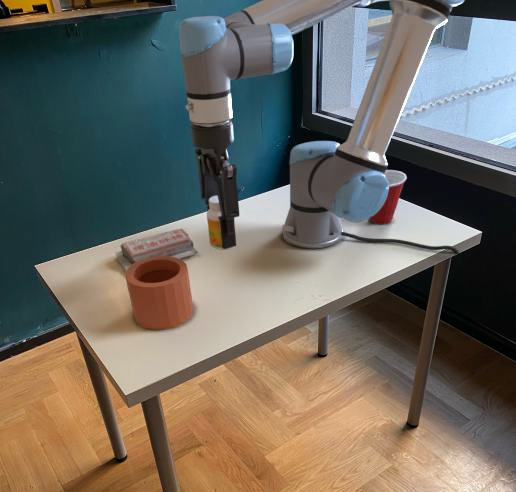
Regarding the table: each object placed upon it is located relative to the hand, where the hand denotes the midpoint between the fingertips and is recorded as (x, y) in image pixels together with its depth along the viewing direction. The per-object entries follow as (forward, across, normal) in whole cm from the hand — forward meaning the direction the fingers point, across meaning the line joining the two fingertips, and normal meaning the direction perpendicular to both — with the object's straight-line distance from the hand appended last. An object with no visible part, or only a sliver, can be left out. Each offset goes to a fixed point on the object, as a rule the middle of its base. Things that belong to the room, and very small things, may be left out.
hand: (223, 240), depth 105 cm
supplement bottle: (+1, 0, 0) cm, 1 cm away
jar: (+13, 0, -15) cm, 19 cm away
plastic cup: (+13, -12, +51) cm, 54 cm away
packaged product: (+13, -24, -8) cm, 29 cm away
